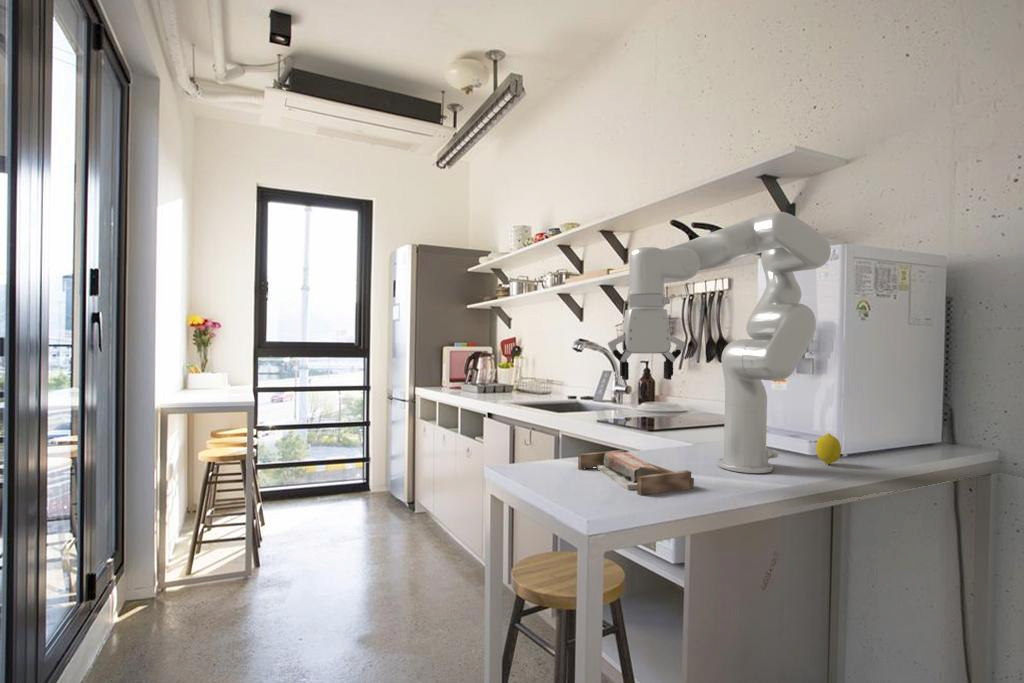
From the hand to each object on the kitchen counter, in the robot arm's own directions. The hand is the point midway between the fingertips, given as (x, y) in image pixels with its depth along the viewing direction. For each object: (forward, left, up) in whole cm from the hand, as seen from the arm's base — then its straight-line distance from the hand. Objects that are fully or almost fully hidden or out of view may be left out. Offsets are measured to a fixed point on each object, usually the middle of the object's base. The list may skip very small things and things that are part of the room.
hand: (646, 379), depth 120 cm
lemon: (-52, +8, -23) cm, 58 cm away
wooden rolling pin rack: (+3, -1, -22) cm, 22 cm away
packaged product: (+3, -1, -23) cm, 23 cm away
